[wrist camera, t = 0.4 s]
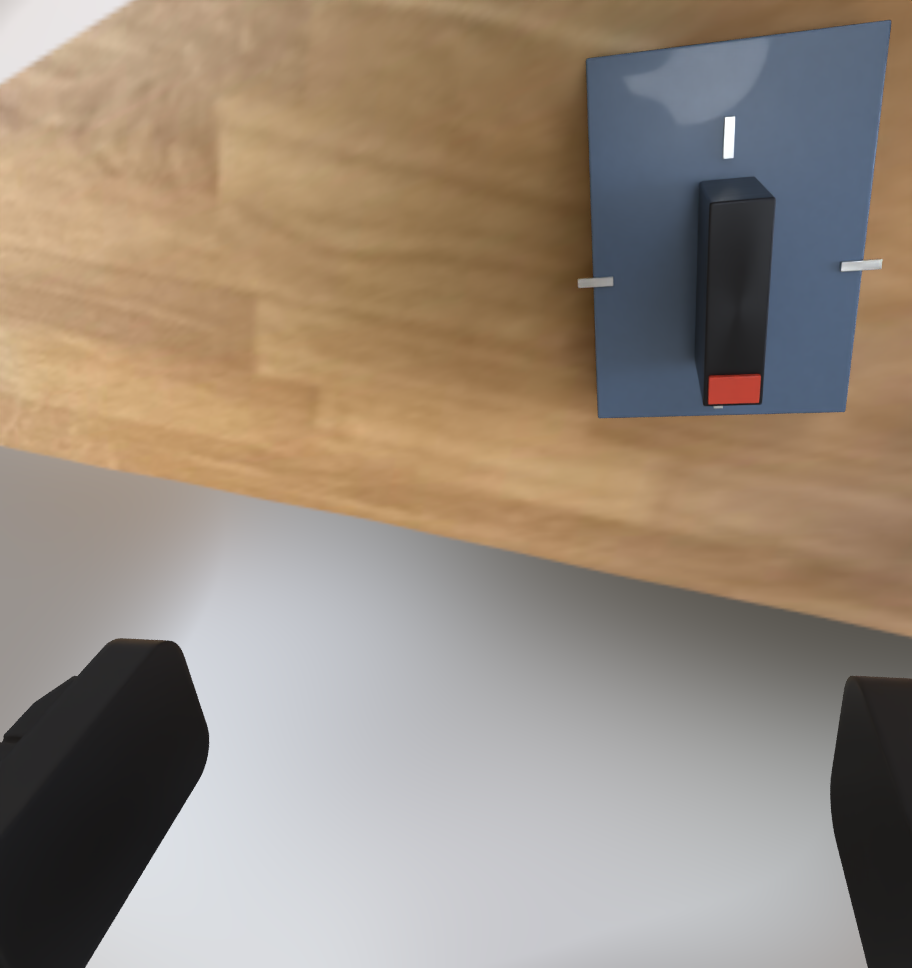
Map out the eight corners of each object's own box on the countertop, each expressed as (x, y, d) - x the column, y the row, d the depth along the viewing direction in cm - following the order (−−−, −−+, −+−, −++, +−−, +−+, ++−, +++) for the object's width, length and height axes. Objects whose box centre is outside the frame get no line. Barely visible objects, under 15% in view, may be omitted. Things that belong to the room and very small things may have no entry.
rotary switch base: (574, 60, 31) (568, 60, 28) (887, 20, 29) (913, 16, 26) (587, 394, 38) (583, 420, 35) (844, 385, 35) (862, 413, 32)
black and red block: (699, 181, 30) (709, 203, 25) (755, 176, 29) (777, 198, 25) (694, 360, 33) (703, 410, 28) (745, 358, 32) (763, 408, 28)
